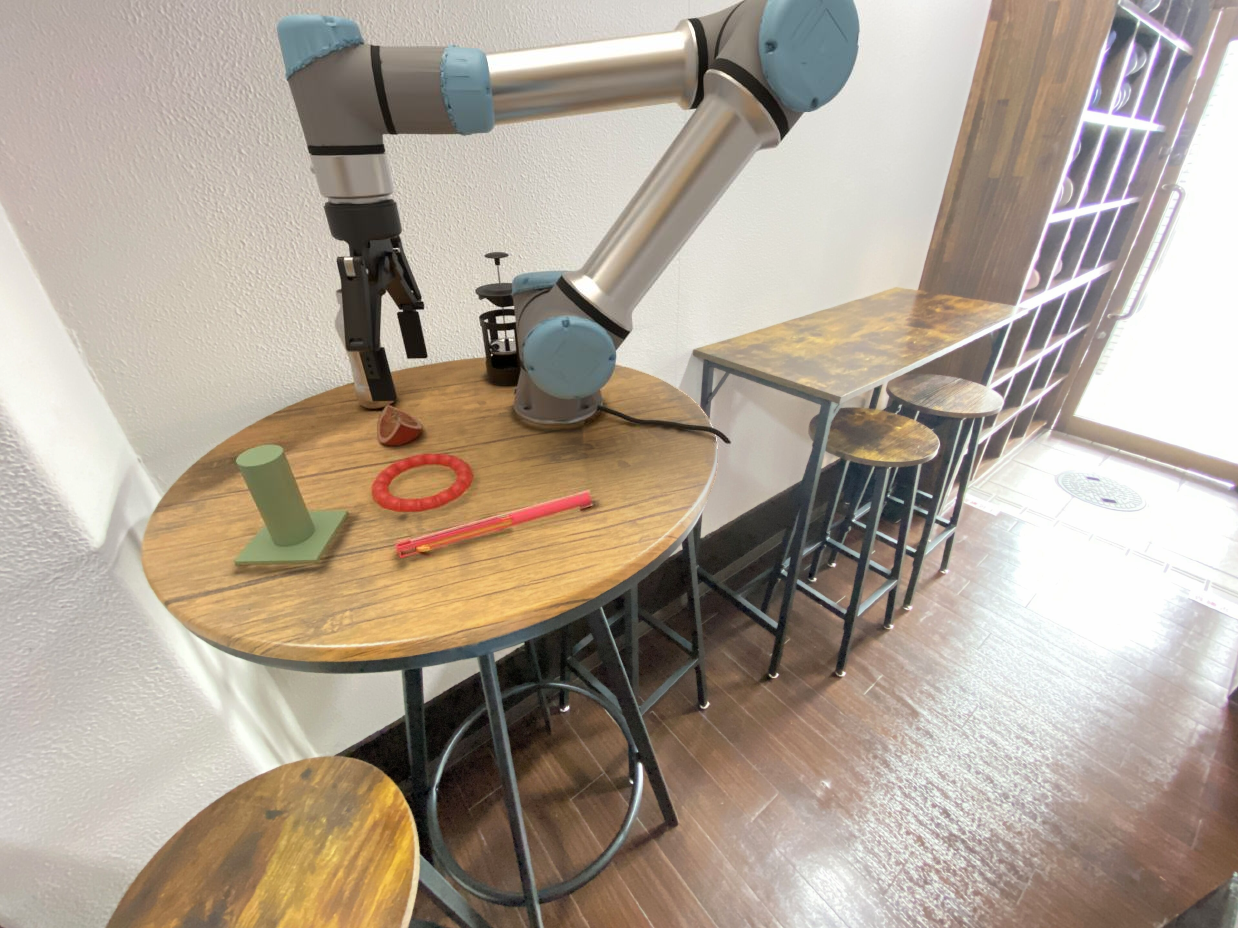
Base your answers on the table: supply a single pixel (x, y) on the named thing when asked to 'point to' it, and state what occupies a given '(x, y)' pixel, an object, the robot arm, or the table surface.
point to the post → (283, 513)
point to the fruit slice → (397, 427)
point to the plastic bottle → (356, 364)
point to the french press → (505, 347)
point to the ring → (417, 505)
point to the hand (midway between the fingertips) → (402, 377)
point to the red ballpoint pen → (494, 523)
